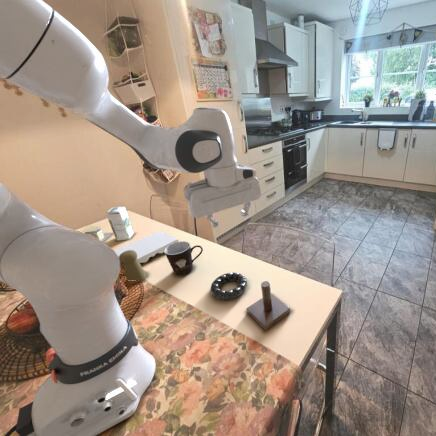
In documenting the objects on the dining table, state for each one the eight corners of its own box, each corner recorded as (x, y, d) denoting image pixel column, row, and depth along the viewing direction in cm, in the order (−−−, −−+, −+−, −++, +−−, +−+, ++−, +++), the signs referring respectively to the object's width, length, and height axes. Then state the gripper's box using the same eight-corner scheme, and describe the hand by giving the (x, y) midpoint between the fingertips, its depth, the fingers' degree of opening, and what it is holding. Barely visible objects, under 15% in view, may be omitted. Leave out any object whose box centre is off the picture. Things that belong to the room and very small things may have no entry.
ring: (222, 307, 73) (221, 301, 72) (205, 288, 81) (203, 282, 80) (254, 288, 80) (253, 282, 79) (235, 272, 88) (234, 266, 87)
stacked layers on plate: (112, 233, 119) (108, 223, 116) (100, 243, 111) (96, 232, 108) (91, 235, 118) (86, 225, 116) (78, 245, 110) (72, 234, 108)
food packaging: (131, 270, 92) (179, 245, 106) (127, 263, 90) (177, 239, 104) (115, 258, 100) (162, 236, 114) (112, 251, 99) (160, 230, 113)
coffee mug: (167, 278, 86) (159, 255, 82) (176, 264, 94) (170, 241, 90) (200, 276, 87) (194, 253, 82) (206, 262, 94) (201, 240, 90)
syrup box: (121, 235, 117) (110, 207, 111) (135, 233, 118) (124, 206, 112) (116, 241, 112) (104, 212, 106) (130, 239, 113) (119, 211, 107)
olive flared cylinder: (137, 284, 84) (127, 258, 79) (123, 282, 85) (111, 256, 81) (150, 273, 90) (140, 248, 85) (136, 272, 91) (126, 247, 86)
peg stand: (265, 330, 65) (262, 301, 61) (247, 312, 71) (242, 284, 67) (290, 311, 71) (288, 283, 66) (271, 296, 77) (268, 269, 72)
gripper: (185, 187, 56) (199, 238, 63) (260, 168, 67) (265, 213, 73) (177, 181, 61) (191, 229, 67) (249, 164, 72) (255, 207, 78)
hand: (230, 221), depth 70 cm, fingers open, 8 cm apart
